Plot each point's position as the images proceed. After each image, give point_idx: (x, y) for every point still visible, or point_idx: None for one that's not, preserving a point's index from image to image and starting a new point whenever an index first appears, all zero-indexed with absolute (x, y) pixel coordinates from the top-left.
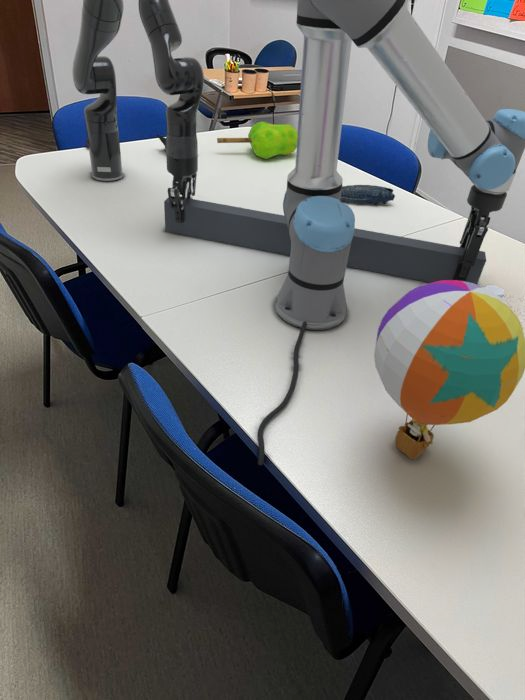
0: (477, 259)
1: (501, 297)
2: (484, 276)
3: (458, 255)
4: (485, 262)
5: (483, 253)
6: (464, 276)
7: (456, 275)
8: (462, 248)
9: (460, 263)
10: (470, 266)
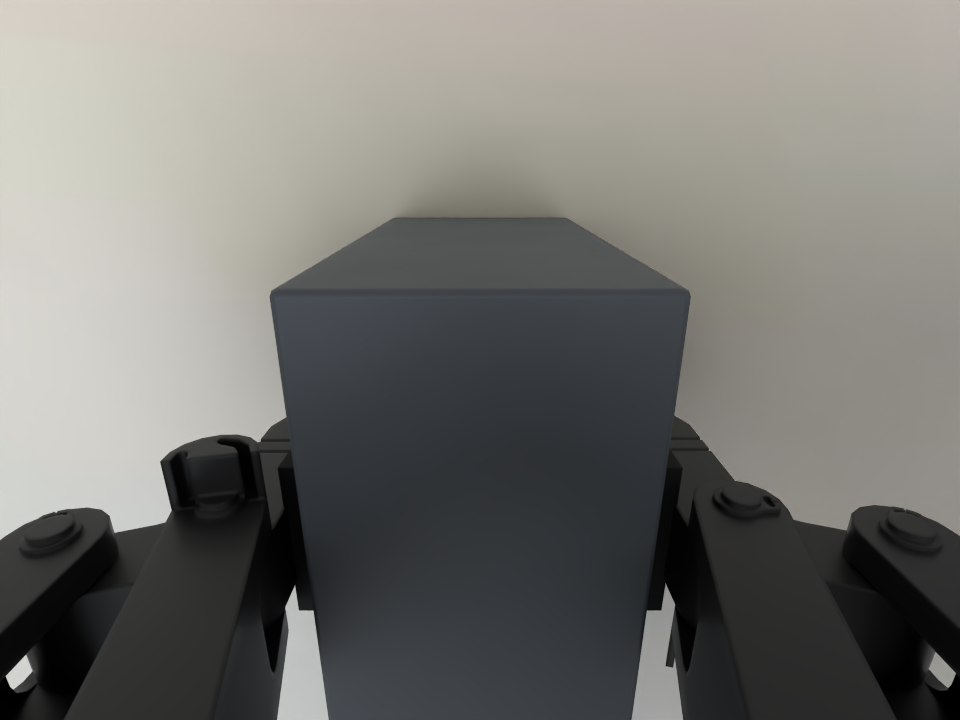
0: (666, 446)
1: None
2: (208, 87)
3: (632, 710)
4: (669, 280)
5: (378, 330)
6: (682, 428)
7: None
8: (356, 663)
9: (659, 586)
10: (672, 455)
